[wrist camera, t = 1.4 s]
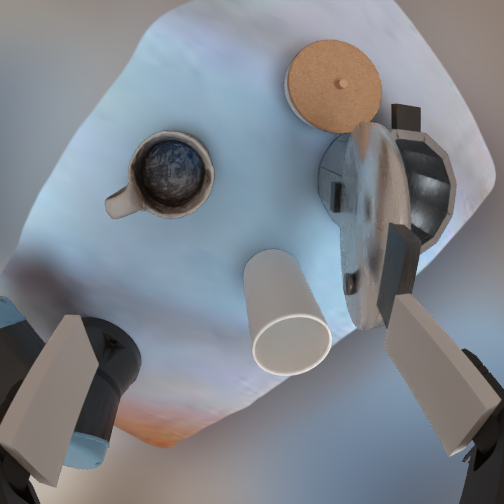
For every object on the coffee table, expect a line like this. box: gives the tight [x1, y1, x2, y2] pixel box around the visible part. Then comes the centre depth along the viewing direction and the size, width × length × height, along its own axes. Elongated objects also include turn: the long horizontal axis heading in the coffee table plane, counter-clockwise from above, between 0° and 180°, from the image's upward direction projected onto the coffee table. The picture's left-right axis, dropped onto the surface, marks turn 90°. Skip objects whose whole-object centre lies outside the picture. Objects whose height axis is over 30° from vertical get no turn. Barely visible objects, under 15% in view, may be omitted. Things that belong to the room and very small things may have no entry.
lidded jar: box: [284, 40, 382, 133], centre depth 30 cm, size 11×11×9 cm
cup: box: [243, 249, 332, 376], centre depth 37 cm, size 8×8×16 cm
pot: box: [318, 104, 457, 254], centre depth 35 cm, size 16×21×10 cm
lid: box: [340, 122, 422, 330], centre depth 21 cm, size 17×15×2 cm
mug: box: [105, 131, 215, 219], centre depth 33 cm, size 10×12×10 cm
